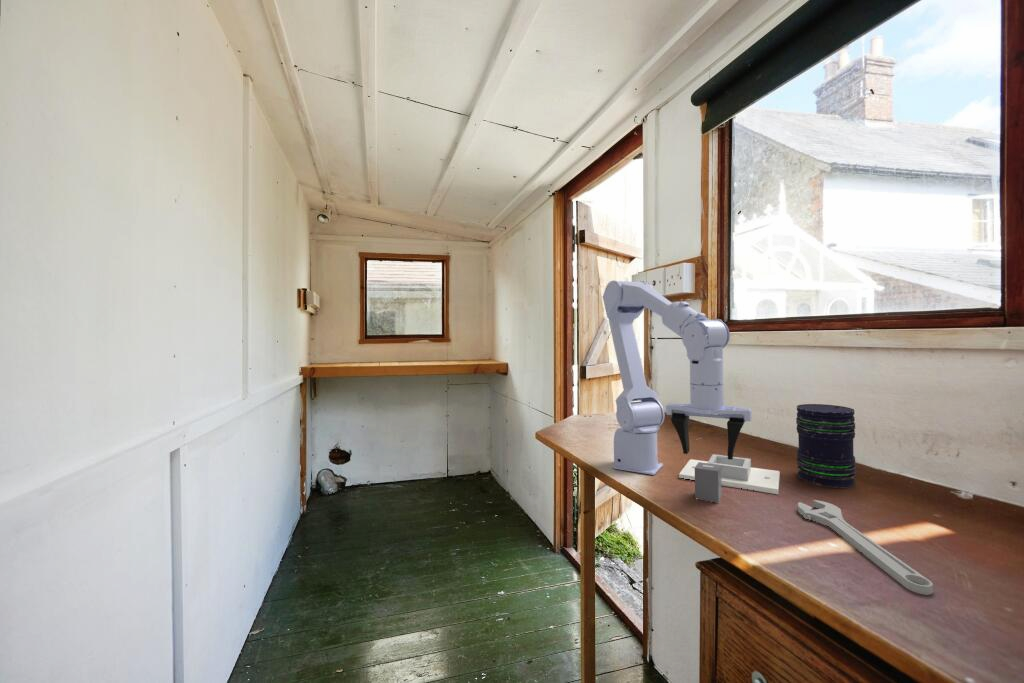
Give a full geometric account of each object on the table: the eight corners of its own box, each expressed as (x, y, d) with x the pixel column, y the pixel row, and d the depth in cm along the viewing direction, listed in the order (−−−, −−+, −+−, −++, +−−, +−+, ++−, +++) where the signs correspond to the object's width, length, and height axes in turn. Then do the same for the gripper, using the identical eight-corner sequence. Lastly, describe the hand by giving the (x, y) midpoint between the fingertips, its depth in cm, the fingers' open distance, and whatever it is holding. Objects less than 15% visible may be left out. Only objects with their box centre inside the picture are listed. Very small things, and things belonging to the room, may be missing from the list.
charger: (695, 499, 79) (694, 467, 79) (699, 492, 83) (698, 461, 83) (718, 503, 77) (718, 470, 77) (721, 496, 81) (721, 464, 80)
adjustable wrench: (940, 600, 50) (940, 585, 50) (876, 594, 51) (876, 580, 51) (831, 510, 74) (830, 500, 74) (790, 508, 75) (789, 498, 75)
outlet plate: (679, 478, 91) (678, 462, 90) (690, 463, 100) (690, 448, 100) (778, 494, 81) (777, 476, 80) (779, 475, 91) (779, 459, 90)
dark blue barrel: (824, 489, 82) (823, 413, 82) (785, 473, 92) (784, 405, 92) (869, 486, 84) (868, 411, 83) (826, 470, 93) (825, 403, 93)
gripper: (661, 384, 80) (663, 455, 80) (748, 388, 72) (749, 466, 72) (670, 380, 86) (671, 446, 86) (751, 383, 78) (753, 456, 78)
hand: (707, 455), depth 80 cm, fingers open, 7 cm apart
